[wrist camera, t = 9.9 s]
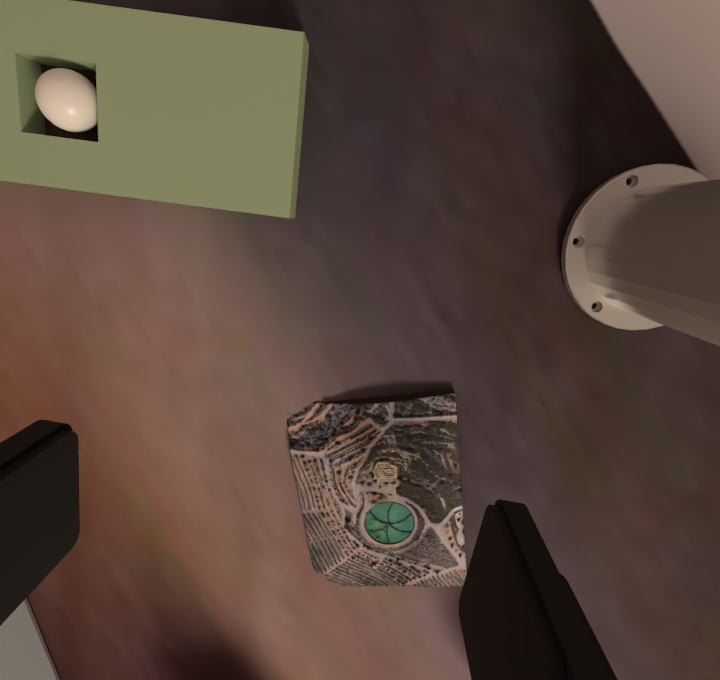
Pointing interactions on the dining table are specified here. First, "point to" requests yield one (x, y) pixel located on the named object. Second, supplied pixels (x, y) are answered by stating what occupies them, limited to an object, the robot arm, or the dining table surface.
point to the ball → (67, 99)
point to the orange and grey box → (24, 648)
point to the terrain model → (382, 489)
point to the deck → (157, 105)
